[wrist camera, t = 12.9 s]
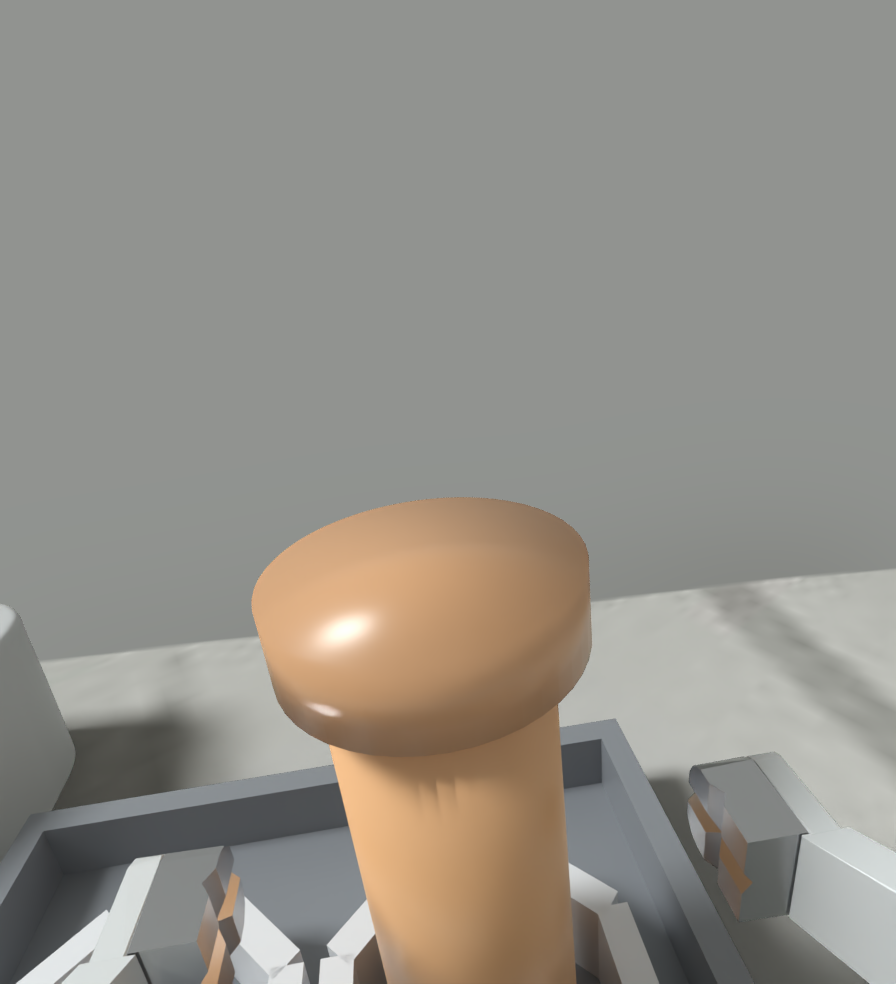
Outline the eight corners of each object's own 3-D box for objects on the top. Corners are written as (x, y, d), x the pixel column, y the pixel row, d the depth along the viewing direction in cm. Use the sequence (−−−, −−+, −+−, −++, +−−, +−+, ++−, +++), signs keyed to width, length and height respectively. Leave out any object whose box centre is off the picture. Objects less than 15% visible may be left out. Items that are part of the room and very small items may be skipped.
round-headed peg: (440, 918, 18) (362, 492, 13) (624, 984, 16) (615, 504, 11) (345, 1147, 13) (173, 633, 9) (583, 1282, 11) (535, 701, 6)
